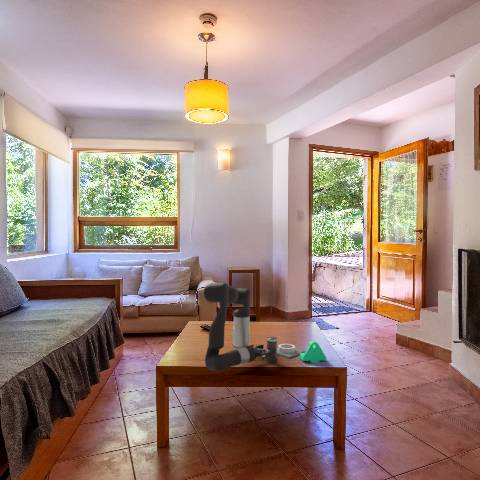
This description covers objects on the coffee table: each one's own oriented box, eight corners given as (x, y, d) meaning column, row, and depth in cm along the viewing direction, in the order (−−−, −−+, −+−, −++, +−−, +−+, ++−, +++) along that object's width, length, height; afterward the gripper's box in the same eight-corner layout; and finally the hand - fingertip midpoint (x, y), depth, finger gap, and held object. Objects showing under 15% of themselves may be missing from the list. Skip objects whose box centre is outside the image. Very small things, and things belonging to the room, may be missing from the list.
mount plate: (268, 352, 207) (268, 346, 206) (284, 347, 216) (284, 341, 216) (288, 358, 197) (288, 351, 196) (304, 352, 206) (304, 346, 206)
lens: (264, 361, 192) (264, 338, 192) (271, 359, 195) (271, 336, 195) (272, 364, 188) (272, 340, 188) (278, 361, 192) (279, 338, 191)
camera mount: (321, 357, 199) (321, 338, 199) (326, 362, 192) (326, 342, 192) (299, 358, 198) (299, 338, 198) (303, 363, 190) (303, 342, 190)
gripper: (253, 351, 174) (278, 344, 185) (234, 343, 185) (259, 338, 196) (253, 367, 175) (278, 359, 185) (234, 359, 186) (259, 352, 196)
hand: (268, 348), depth 190 cm, fingers open, 8 cm apart
